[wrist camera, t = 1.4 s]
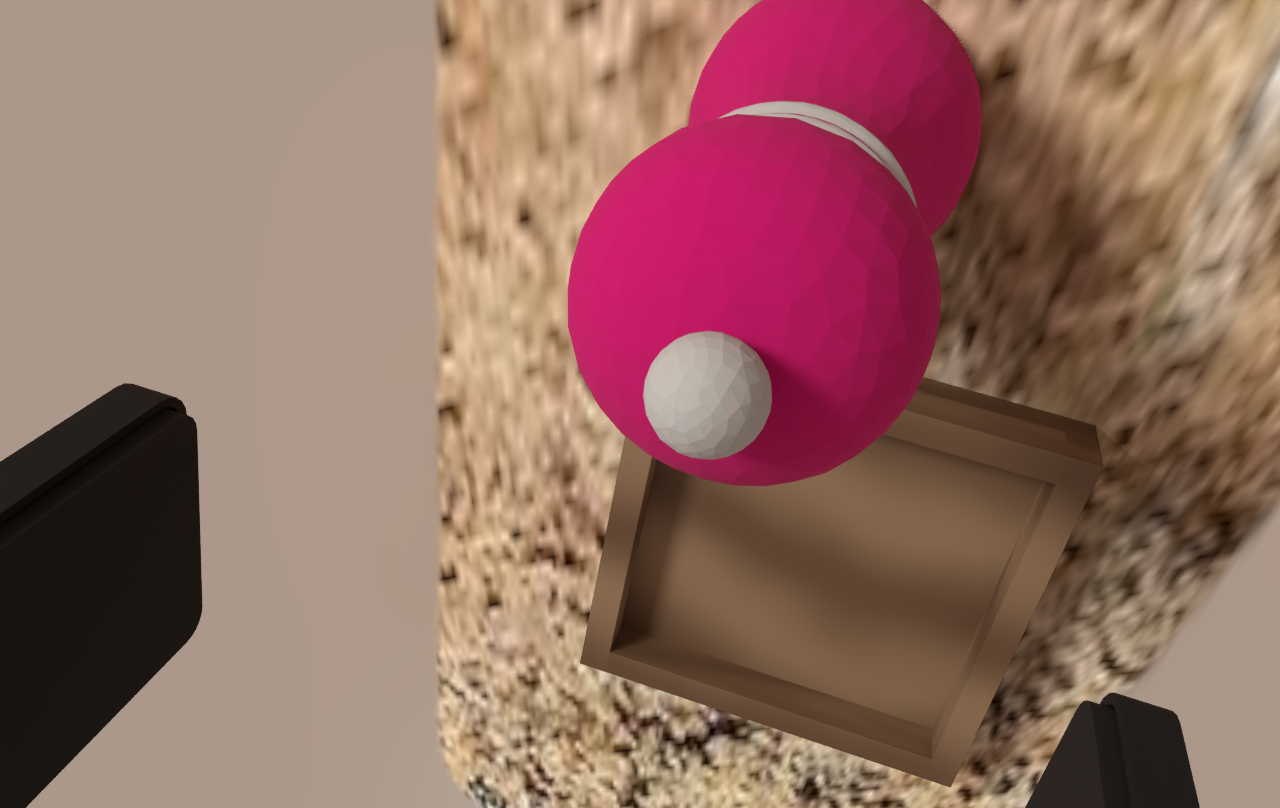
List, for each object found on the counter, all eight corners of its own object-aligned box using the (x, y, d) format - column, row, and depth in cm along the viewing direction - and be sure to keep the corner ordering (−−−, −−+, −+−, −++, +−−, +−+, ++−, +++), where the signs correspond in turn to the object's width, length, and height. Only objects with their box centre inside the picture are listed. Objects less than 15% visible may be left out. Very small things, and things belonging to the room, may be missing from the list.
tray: (665, 304, 36) (645, 335, 34) (1095, 425, 34) (1103, 466, 32) (600, 621, 43) (580, 663, 41) (952, 736, 41) (950, 787, 39)
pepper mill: (1021, -6, 29) (1077, 251, 12) (932, 243, 33) (879, 709, 16) (759, -71, 30) (468, 82, 13) (701, 178, 34) (416, 550, 17)
